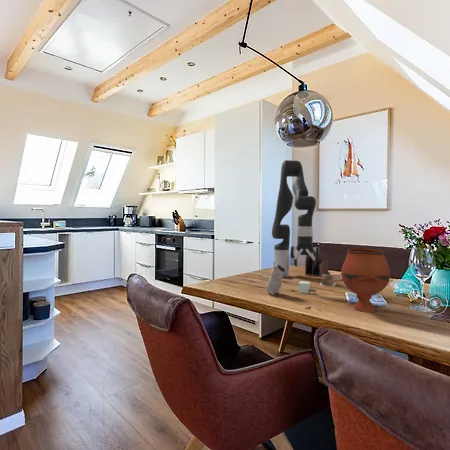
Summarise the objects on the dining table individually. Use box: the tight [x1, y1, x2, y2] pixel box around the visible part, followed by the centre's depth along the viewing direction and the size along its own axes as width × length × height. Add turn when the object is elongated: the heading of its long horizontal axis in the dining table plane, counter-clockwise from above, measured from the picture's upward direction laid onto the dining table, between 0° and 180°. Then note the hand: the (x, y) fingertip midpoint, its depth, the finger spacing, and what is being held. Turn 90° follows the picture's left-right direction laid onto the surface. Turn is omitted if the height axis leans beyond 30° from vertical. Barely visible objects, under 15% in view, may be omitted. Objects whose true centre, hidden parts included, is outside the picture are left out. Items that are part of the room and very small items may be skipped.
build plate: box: [319, 281, 337, 287], centre depth 184 cm, size 20×16×1 cm
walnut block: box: [321, 273, 335, 287], centre depth 183 cm, size 6×6×5 cm
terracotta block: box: [329, 272, 342, 282], centre depth 196 cm, size 5×5×5 cm
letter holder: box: [304, 252, 329, 278], centre depth 221 cm, size 10×20×14 cm, turn 148°
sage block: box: [298, 280, 311, 294], centre depth 170 cm, size 5×5×5 cm
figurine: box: [265, 265, 285, 296], centre depth 166 cm, size 9×10×15 cm
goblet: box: [340, 247, 391, 313], centre depth 139 cm, size 19×19×25 cm
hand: (304, 267), depth 170 cm, fingers open, 8 cm apart
